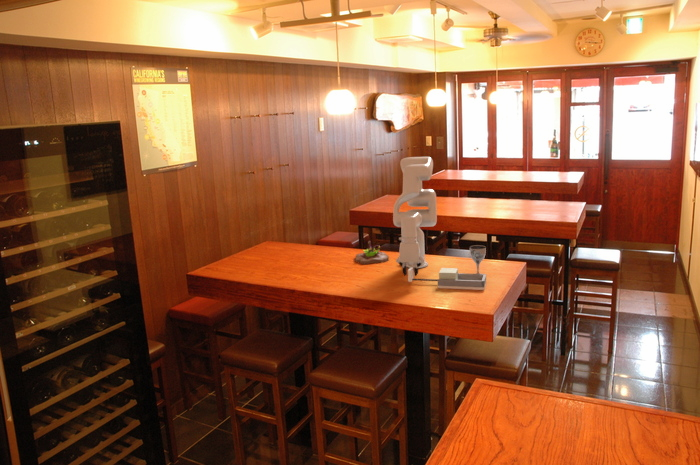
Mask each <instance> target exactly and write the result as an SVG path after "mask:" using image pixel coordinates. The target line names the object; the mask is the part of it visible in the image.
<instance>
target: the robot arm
mask: <svg viewBox="0 0 700 465" xmlns="http://www.w3.org/2000/svg"><path fill="white" fill-rule="evenodd" d="M399 163H400V169H401V172H402V193H400V195H399V196H398V197H397V199H396V200H395V202H394V204H393V212H392V213H393V214H392V216H393V217H392V221H393V222H392V223H393V225H394V226H395V227H397V228H401V232H400V233H401V234H400V235H401V236H400V237H398V240H399V241H401V242H400V243H399V251H398V253H399V254H398V257H397V258H396V260H395V262H396V263H397V264H399V266H401V268H402V273H403V276H404V277H405V276H407V275H408V269H409V268H410V267H413V275H414V277H417V276H418V274H419V269H422V268H423V269H424V268H426V267H427V266H429V263H428V262H427V261H426V256H425V255H426V253H425V252H426V251H425V233H424V231H423V230H422V229H421V228H422V227H424V228H425V227H426V228H427V227H428V228H429V227H434V226H436V224H437V221H438V218H437V217H438V212H437V211H438V209H437V193H436V191H435V190H434V189H432V188H426V189H424V188H423V181H429V180H431V179H432V175H433V169H434V160H433V158H432V157H430V156H411V157H409V156H408V157H404V158H402V159H401V160H400V162H399ZM405 203H407V206H409V207H414V208H415V207H416V208H417V209H416V208H415V209H413V208H412V209H409V210H406V211H400V209H401V206H402V205H403V204H405ZM423 207H424V208H425V207H427V208H425V209H424V208H423ZM420 208H421V209H420ZM422 208H423V209H422ZM407 268H408V269H407Z"/></svg>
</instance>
